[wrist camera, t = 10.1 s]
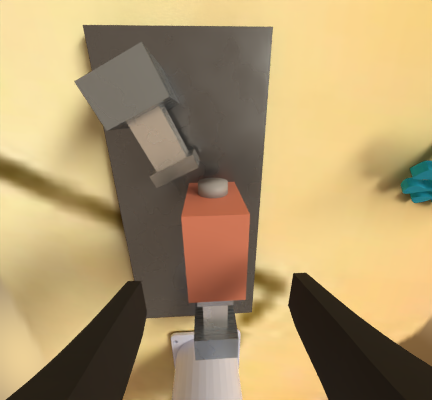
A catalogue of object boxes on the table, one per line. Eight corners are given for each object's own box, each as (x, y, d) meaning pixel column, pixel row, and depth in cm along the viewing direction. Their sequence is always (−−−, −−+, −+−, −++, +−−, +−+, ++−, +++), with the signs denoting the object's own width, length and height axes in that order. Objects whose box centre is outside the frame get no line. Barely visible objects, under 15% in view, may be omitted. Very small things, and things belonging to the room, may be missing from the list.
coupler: (233, 252, 19) (245, 308, 13) (193, 254, 19) (189, 312, 13) (234, 171, 16) (250, 200, 10) (188, 173, 16) (179, 202, 10)
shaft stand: (249, 304, 23) (262, 358, 18) (144, 310, 22) (127, 367, 17) (268, 33, 14) (306, -18, 9) (91, 31, 13) (19, -24, 8)
